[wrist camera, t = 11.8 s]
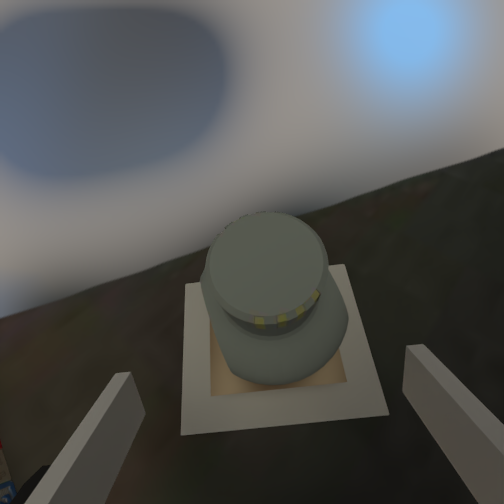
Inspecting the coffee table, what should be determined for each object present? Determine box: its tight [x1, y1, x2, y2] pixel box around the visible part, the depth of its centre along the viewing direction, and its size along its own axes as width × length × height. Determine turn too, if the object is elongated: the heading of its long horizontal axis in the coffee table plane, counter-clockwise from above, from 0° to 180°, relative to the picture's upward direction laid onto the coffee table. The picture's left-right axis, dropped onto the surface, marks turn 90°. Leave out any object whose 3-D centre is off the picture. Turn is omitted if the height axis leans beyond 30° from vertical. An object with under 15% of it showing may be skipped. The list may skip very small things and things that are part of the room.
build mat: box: [181, 264, 389, 436], centre depth 24 cm, size 18×14×1 cm
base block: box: [210, 321, 347, 396], centre depth 22 cm, size 10×12×5 cm
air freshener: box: [200, 212, 349, 385], centre depth 16 cm, size 11×8×10 cm
